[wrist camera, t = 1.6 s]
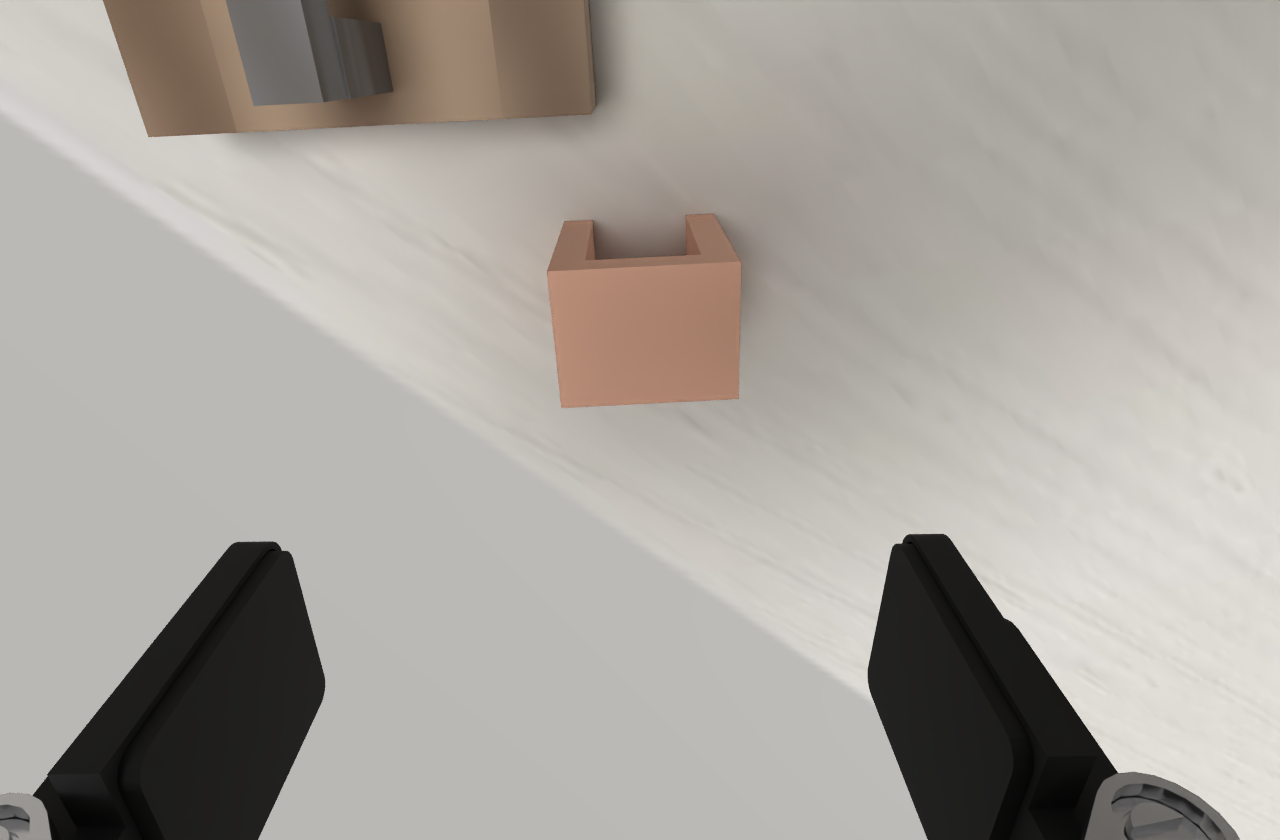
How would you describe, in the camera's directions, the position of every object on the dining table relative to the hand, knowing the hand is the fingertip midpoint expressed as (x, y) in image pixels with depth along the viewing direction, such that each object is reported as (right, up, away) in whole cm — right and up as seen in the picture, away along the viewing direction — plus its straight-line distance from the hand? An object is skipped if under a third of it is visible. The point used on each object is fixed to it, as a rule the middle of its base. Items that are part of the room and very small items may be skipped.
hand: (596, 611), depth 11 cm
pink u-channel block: (+1, +9, +21) cm, 23 cm away
